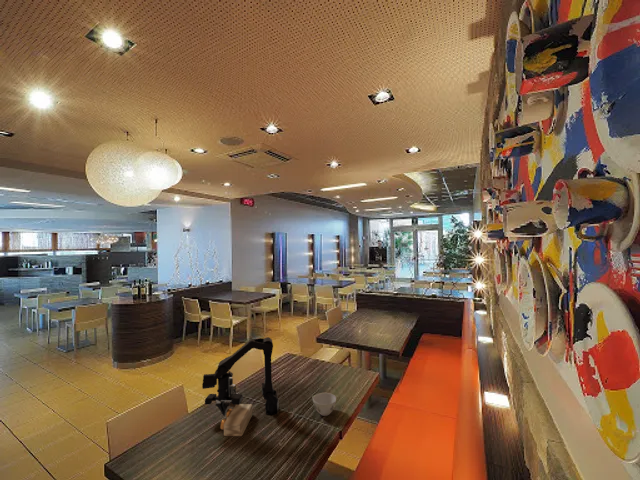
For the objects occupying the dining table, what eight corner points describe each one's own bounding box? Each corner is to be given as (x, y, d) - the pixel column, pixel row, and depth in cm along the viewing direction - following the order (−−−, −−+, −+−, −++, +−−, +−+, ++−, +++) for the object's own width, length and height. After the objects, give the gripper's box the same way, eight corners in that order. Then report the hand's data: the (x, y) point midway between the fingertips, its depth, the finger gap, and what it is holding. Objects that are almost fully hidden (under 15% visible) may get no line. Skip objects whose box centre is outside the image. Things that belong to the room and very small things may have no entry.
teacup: (341, 411, 153) (340, 396, 153) (326, 423, 144) (326, 407, 144) (319, 402, 163) (319, 388, 163) (305, 412, 153) (304, 397, 153)
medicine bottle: (230, 402, 164) (229, 381, 165) (219, 401, 166) (218, 380, 166) (236, 396, 171) (235, 376, 172) (225, 395, 173) (225, 375, 173)
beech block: (252, 414, 152) (252, 404, 152) (241, 436, 135) (241, 424, 135) (236, 414, 153) (236, 404, 153) (223, 435, 136) (223, 424, 136)
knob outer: (243, 426, 141) (243, 417, 141) (240, 432, 137) (240, 422, 137) (224, 425, 142) (223, 417, 142) (220, 431, 138) (220, 422, 138)
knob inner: (247, 415, 150) (247, 407, 150) (245, 420, 146) (244, 411, 146) (229, 415, 151) (229, 406, 151) (226, 420, 147) (226, 411, 147)
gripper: (245, 378, 157) (246, 406, 156) (213, 378, 158) (213, 406, 158) (238, 388, 146) (239, 419, 145) (203, 388, 147) (204, 418, 146)
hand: (224, 415), depth 149 cm, fingers closed
